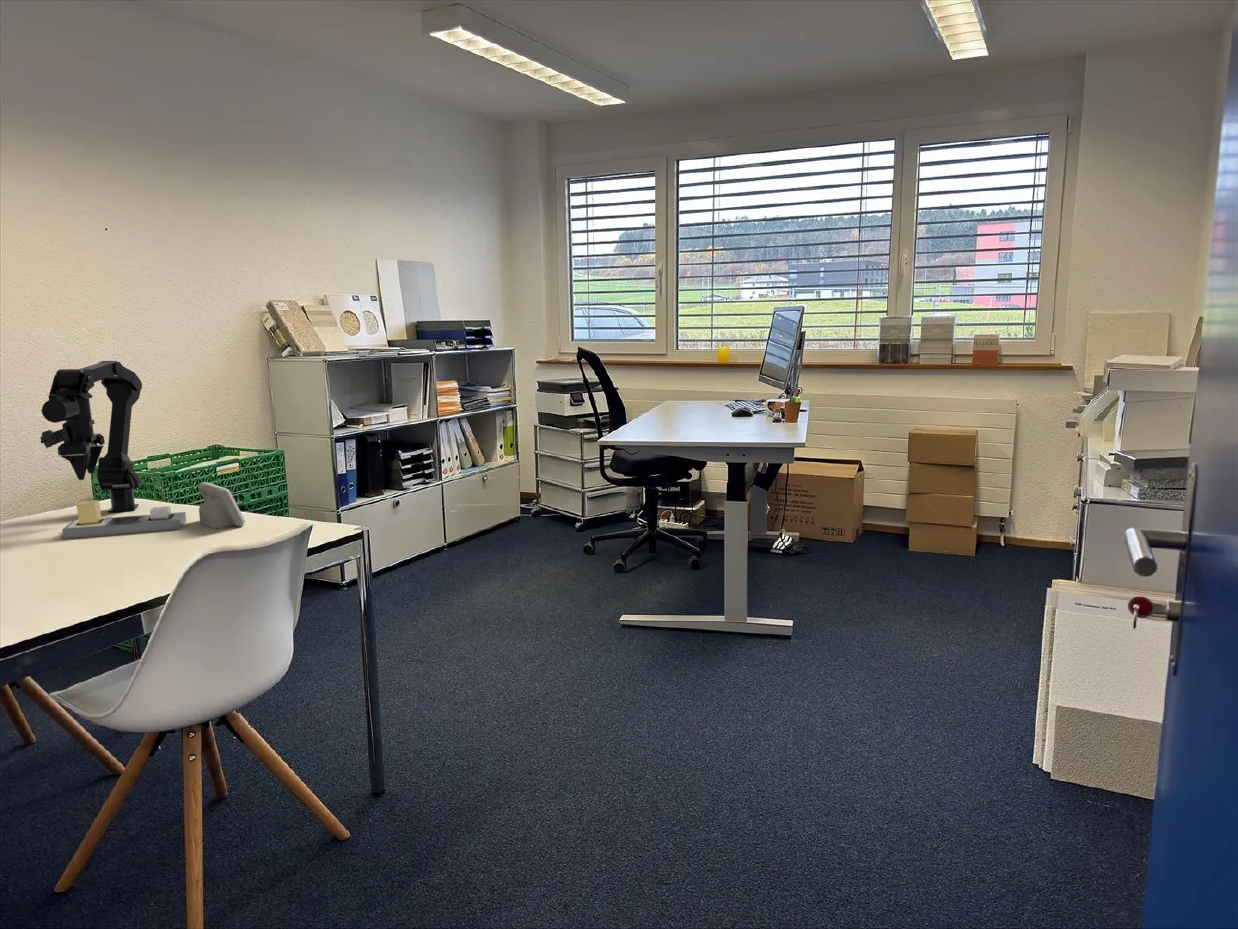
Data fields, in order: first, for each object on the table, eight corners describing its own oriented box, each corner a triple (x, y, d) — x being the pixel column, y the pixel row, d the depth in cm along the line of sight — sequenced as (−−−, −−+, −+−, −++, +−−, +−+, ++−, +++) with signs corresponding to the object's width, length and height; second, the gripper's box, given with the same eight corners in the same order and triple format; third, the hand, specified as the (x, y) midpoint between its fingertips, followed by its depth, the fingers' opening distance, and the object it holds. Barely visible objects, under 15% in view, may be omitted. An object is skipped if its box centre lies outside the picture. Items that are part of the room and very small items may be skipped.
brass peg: (84, 531, 207) (80, 501, 206) (102, 530, 208) (99, 500, 207) (80, 535, 203) (76, 504, 202) (98, 534, 205) (94, 503, 203)
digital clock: (247, 527, 211) (243, 487, 209) (209, 533, 205) (205, 492, 203) (232, 515, 223) (229, 477, 221) (196, 520, 218) (192, 481, 216)
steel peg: (155, 526, 212) (153, 507, 211) (172, 524, 214) (170, 506, 213) (152, 529, 209) (149, 511, 208) (169, 528, 210) (167, 509, 209)
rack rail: (74, 530, 208) (72, 519, 208) (186, 520, 217) (185, 510, 216) (63, 539, 200) (62, 528, 199) (180, 529, 209) (179, 518, 208)
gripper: (53, 414, 215) (61, 472, 217) (29, 423, 197) (38, 485, 200) (101, 412, 218) (108, 469, 221) (82, 421, 201) (90, 482, 204)
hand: (86, 476), depth 211 cm, fingers open, 9 cm apart
